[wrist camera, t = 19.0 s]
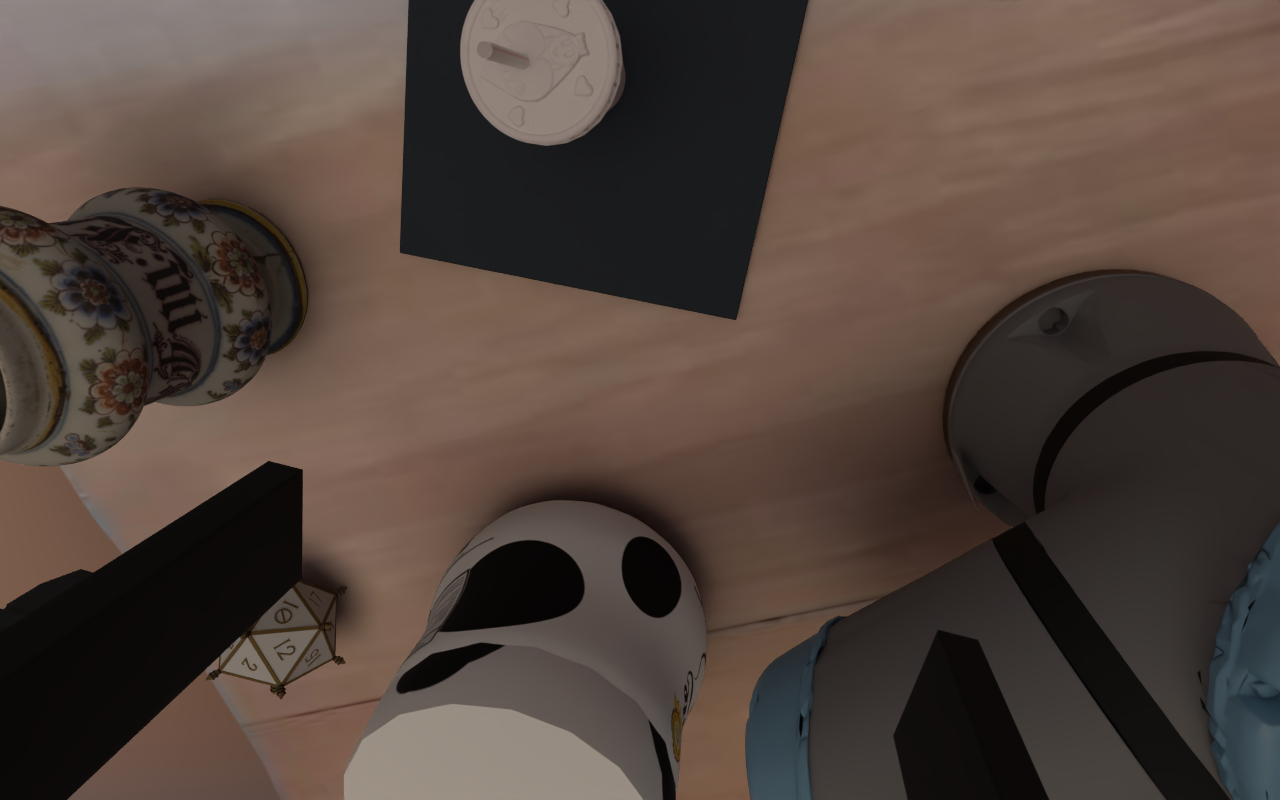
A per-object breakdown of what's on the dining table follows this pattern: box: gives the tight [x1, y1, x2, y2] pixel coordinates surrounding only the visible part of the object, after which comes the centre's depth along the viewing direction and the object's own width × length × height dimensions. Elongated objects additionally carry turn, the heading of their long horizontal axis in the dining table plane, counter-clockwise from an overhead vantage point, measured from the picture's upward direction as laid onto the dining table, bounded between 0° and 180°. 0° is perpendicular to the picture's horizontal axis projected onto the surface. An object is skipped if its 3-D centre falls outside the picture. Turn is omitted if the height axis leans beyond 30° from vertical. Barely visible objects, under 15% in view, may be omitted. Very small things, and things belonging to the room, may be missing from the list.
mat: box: [400, 0, 808, 320], centre depth 36 cm, size 20×22×1 cm
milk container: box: [344, 500, 707, 800], centre depth 40 cm, size 17×17×18 cm
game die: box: [206, 581, 347, 699], centre depth 48 cm, size 9×8×10 cm
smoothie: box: [460, 0, 625, 146], centre depth 29 cm, size 6×6×14 cm
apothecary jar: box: [0, 187, 307, 466], centre depth 35 cm, size 12×12×18 cm
